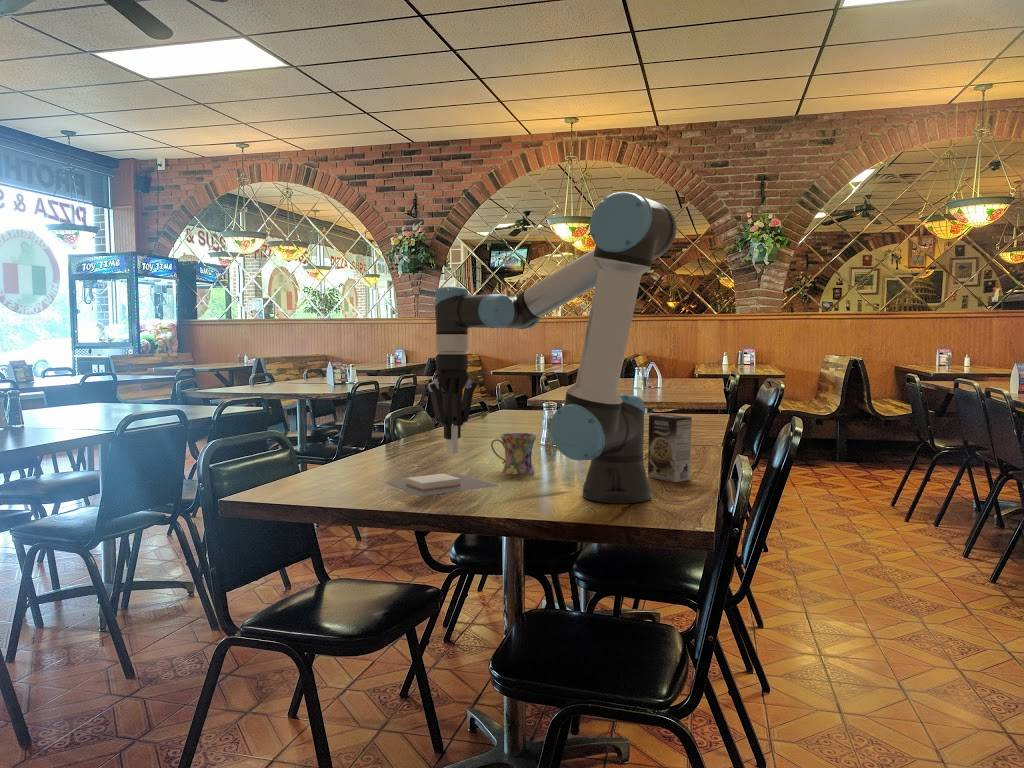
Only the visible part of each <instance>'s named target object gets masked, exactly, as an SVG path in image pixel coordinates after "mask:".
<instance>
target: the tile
mask: <svg viewBox="0 0 1024 768" xmlns="http://www.w3.org/2000/svg"><path fill="white" fill-rule="evenodd" d="M450 475H451V474H447V473H436V474H427V475H420V476H413V477H412V476H410V477H406V478H405V480H406V485H409V486H411V487H414V488H417V489H420V490H430V489H437V488H445V487H452V486H460V485H461V479H460V478H457V477H454V476H450Z"/></svg>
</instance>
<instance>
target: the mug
mask: <svg viewBox="0 0 1024 768" xmlns="http://www.w3.org/2000/svg"><path fill="white" fill-rule="evenodd" d="M500 438H501V439H498V438H497V439H496V438H495V439H494V440H492V441H491V443H490V447H491V450H492V452H493V453H494V455H495V456H496V457H497V458H499V459H500V460H502V465H504V466H503V469H502V473H504V474H509V475H527V476H533V475H534V474H536V472H535V470H534V467H533V462H532V460H533V459H532V452H533V446H534V444H535V441H536V439H537V435H536V434H535V433H530V432H508V433H507V432H506V433H502V434H500ZM494 442H499V443H500V444H502V446H503V448H504V453H505V454H504V455H505V457H502V456H501V455H499V454H498V452H497V451H496V450H495V449H494Z"/></svg>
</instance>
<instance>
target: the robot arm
mask: <svg viewBox="0 0 1024 768" xmlns="http://www.w3.org/2000/svg"><path fill="white" fill-rule="evenodd" d="M589 233H590V237H592V240H593V242H594V244H595V245H594V246H595V247H594V248H593V249H592V250H590V251H588V252H587V253H585V254H583V255H581V256H580V257H578V258H577V259H574V260H572V262H569V263H568V264H566V265H565V266H563V267H562V268H560V269H558V270H557V271H554V272H553V273H551V274H550V275H548V276H546V277H544V278H542V279H541V280H539V281H538V282H536V283H535V284H533V285H531V286H529V287H527V288H526V289H524V290H523V291H521V292H519V293H518V294H516V295H513V296H511V295H510V296H508V295H507V294H505V293H504V294H503V293H501V294H500V293H489V294H474V295H472V294H471V295H470V294H469V293H468V292H469V291H468V289H467V287H463V286H443V287H442V286H441V287H439V288H437V289H436V293H435V295H436V296H435V305H434V307H435V329H436V330H435V331H436V332H435V351H436V352H437V354H436V355H435V368H436V374H435V377H434V380H433V381H431V382H430V383H429V382H428V383H426V385H425V386H426V389H427V391H428V392H429V394H430V395H429V396H430V398H431V404H432V407H433V412H434V417H435V422H436V423H437V424H441V425H443V438H444V440H446V453H448V454H452V455H455V454H459V439H461V433H462V431H461V430H462V429H461V426H463V425H464V423H467V422H468V421H469V416H470V412H471V405H472V401H473V396H474V392H475V390H476V388H477V386H478V383H477V382H476V381H473V380H471V379H470V378H469V374H468V368H469V356H468V354H466V353H467V352H468V351H469V338H468V337H469V335H468V334H469V329H471V328H474V329H475V328H476V329H477V328H478V329H481V328H482V329H485V328H486V329H489V328H490V329H518V330H525V329H530V328H533V327H535V326H536V325H538V323H539V322H540V320H541V318H542V317H544V316H546V315H548V314H549V313H551V312H553V311H554V310H557V309H559V308H560V307H562V306H564V305H566V304H567V303H569V302H571V301H573V300H575V299H577V298H578V297H580V296H581V295H583V294H585V293H587V292H589V291H591V290H593V289H594V290H593V291H594V292H593V295H592V299H591V300H592V302H591V307H590V311H589V316H588V321H587V326H586V331H585V334H584V335H585V336H584V341H583V344H582V345H583V346H582V351H581V356H580V361H579V366H578V371H577V376H576V380H575V383H574V384H573V385H571V386H570V387H568V388H567V389H566V394H565V399H564V403H563V405H562V406H560V408H559V409H557V410H556V411H555V412H554V414H553V415H552V418H551V421H550V429H549V430H550V437H551V440H552V442H553V443H554V445H555V447H556V449H557V450H558V451H559V452H560V453H561V454H562V455H563V456H565V457H566V458H568V459H570V460H574V461H590V462H589V463H590V464H589V467H588V469H587V470H588V471H587V474H586V476H585V477H586V478H585V482H584V483H582V484H583V485H582V497H583V498H585V499H587V500H590V501H593V502H599V503H604V504H605V503H606V504H607V503H608V504H635V503H638V504H639V503H642V502H647V501H649V500H650V499H651V495H652V492H651V491H652V490H651V489H652V488H651V485H650V484H649V482H648V475H647V472H646V469H645V466H644V439H645V438H644V433H645V432H644V429H645V415H646V414H645V413H646V411H645V406H644V400H643V398H642V397H640V396H638V395H632V394H621V393H620V394H619V392H618V387H619V383H620V378H621V373H622V370H623V369H622V368H623V363H624V359H625V354H626V350H627V346H628V341H629V336H630V332H631V328H632V327H631V326H632V323H633V322H632V321H633V317H634V311H635V307H636V302H637V297H638V295H639V288H640V283H641V278H642V276H643V274H645V273H646V272H648V271H650V270H651V267H652V263H653V262H654V260H657V259H658V258H660V257H662V256H663V255H664V254H665V253H666V252H668V251H669V250H670V248H671V247H672V245H673V244H674V241H675V239H676V235H677V222H676V218H675V216H674V215H673V213H672V211H671V210H670V209H669V208H668V207H667V206H666V205H664V204H663V203H661V202H658V201H655V200H653V199H649V198H647V197H645V196H643V195H642V194H638V193H634V192H627V191H618V192H614V193H612V194H609V195H607V196H606V197H604V198H603V199H601V201H600V202H598V203H597V205H596V206H595V208H594V210H593V211H592V214H591V216H590V220H589ZM439 389H440V390H441V393H440V390H439ZM441 397H442V398H441Z"/></svg>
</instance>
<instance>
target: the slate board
mask: <svg viewBox="0 0 1024 768" xmlns="http://www.w3.org/2000/svg"><path fill="white" fill-rule="evenodd" d="M449 475H450V476H454V477H457V478H460V479H461V485H460V486H452V487H445V488H437V489H430V490H420V489H417V488H414V487H411V486H409V485H406V479H405V480H404V479H403V480H397V481H396V480H395V481H389V482H388V481H387V482H386V484H387V485H389V486H393V487H395V488H399V489H401V490H404V491H406V492H409V493H412V494H415V495H418V496H419V497H425V496H426V497H427V496H433V495H434V496H435V495H440V494H447V493H455V492H456V493H457V492H462V491H467V490H475V489H482V488H483V489H484V488H489V487H496V486H497V487H498V485H497V484H493V483H491V482H488V481H483V480H479V479H477V478H475V477H474V478H473V477H470V476H465V475H462V474H459V473H451V474H449Z"/></svg>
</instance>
